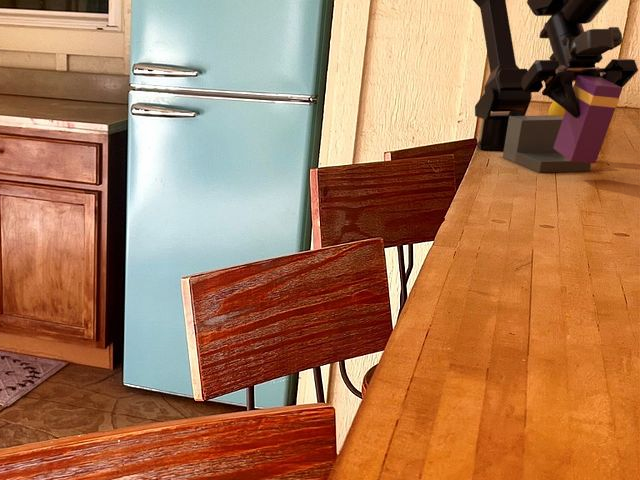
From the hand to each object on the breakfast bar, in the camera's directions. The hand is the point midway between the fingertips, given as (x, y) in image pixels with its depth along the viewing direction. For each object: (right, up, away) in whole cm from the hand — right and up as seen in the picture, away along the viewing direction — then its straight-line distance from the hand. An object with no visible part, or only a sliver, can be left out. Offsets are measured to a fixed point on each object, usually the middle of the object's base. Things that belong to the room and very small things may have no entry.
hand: (591, 115), depth 152 cm
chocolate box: (-1, -6, +5) cm, 7 cm away
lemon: (+17, +11, +51) cm, 55 cm away
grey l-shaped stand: (0, -5, +17) cm, 18 cm away
